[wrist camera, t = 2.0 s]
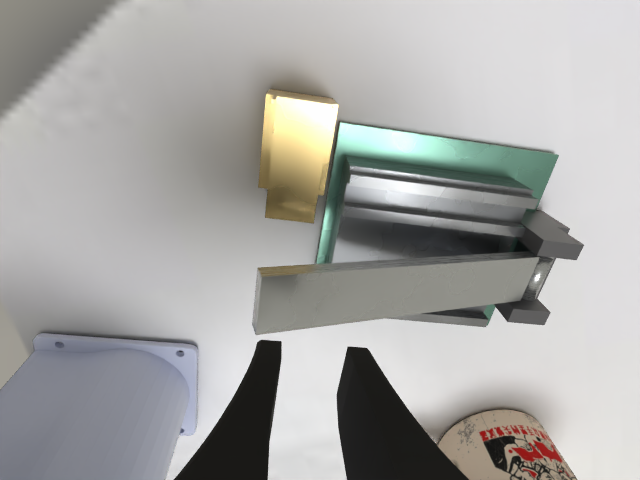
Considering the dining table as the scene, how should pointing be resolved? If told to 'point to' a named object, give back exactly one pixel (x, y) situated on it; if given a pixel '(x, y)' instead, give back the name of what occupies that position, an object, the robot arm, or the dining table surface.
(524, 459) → the teacup with lid
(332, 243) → the block
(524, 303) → the grey forked bracket
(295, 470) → the dining table surface
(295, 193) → the clip
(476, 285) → the grey long flat bar
